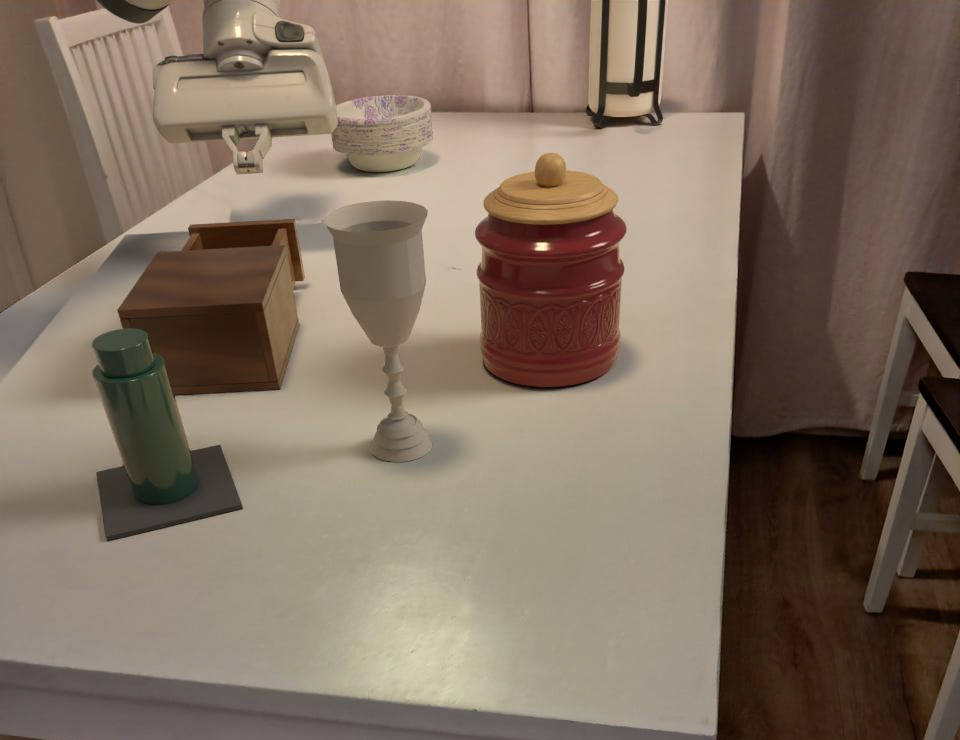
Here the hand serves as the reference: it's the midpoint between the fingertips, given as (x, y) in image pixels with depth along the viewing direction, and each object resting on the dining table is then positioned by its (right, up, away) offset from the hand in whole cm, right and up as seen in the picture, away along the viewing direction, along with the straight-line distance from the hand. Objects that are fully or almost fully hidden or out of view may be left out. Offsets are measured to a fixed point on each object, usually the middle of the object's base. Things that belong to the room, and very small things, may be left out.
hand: (248, 171), depth 103 cm
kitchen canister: (+32, -26, -16) cm, 45 cm away
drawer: (+1, -15, -3) cm, 15 cm away
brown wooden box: (+1, -25, -13) cm, 28 cm away
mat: (+1, -41, -31) cm, 51 cm away
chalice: (+19, -37, -27) cm, 49 cm away
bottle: (+1, -41, -31) cm, 51 cm away
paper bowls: (+11, +20, +38) cm, 44 cm away
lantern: (+50, +34, +51) cm, 79 cm away
